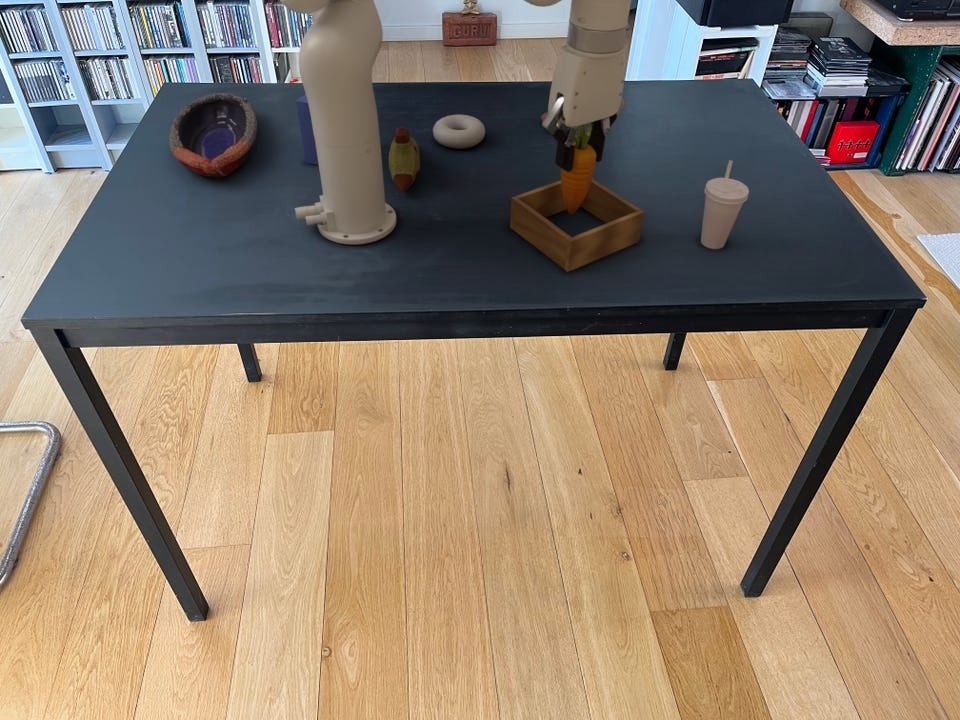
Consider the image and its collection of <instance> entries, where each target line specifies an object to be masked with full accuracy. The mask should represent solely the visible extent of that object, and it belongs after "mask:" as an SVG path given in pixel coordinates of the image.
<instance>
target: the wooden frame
mask: <svg viewBox="0 0 960 720" xmlns="http://www.w3.org/2000/svg"><path fill="white" fill-rule="evenodd" d="M510 201H511V203H510V219H509V220H510V222H509V223H510V224H509V228H510V229H511V230H513V231H514V232H515V233H517V234H518V235H519V236H521V237H522V238H523V239H524V240H525V241H527V242H528V243H530V244H531V245H532V246H534V247H535V248H536V249H537V250H539V251H540V252H541V253H543V254H544V255H545V256H546V257H548V258H549V259H550V260H551V261H553V262H554V263H555V264H557V265H558V266H559V267H561V268H562V269H563V270H565V271H566V272H567V273H568V272H571V271H574V270H576V269H578V268H581V267H583V266H585V265H587V264H589V263H593V262H594V261H595V262H596V261H597V260H600V259H602V258H604V257H607V256H608V255H611V254H614V253H616V252H619V251H620V250H623V249H626V248H629V247H630V246H633V245H635V244H637V243H639V242H640V238H641V232H642V227H643V223H644V217H645V211H644V210H643V209H641V208H640V207H638V206H636V205H635V204H634V203H631V202H630V201H628V200H627V199H625V198H624V197H622V196H620V195H619V194H617V193H616V192H614V191H613V190H611V189H609V188H608V187H607V186H605V185H603V184H602V183H600V182H598V180H595V179H593V178H592V181H591V184H590V186H589V189H588V192H587V194H586V197H585V199H584V200H583V202H582V204H581V205H580V207H581V209H584V210H585V211H587V212H588V213H590V214H591V215H593V216H594V217H596V218H597V219H599V220H600V221H602V223H604V224H602V225H599V226H597V227H594V228H592V229H589V230H587V231H584V232H581V233H579V234H577V235H574V236H571V235H569V234H568V233H567V232H565V230H562V229H561V228H560V227H558V226H557V225H556V224H554V223H553V222H552V221H550V220H549V219H548V218H547V217H551V216H553V215H556V214H558V213H561V212H564V211H566V210H567V208H566V206H565V203H564V200H563V196H562V188H561V179H560V180H558V181H557V180H556V181H555V182H552V183H549V184H546V185H543V186H541V187H537V188H535V189H532V190H529V191H527V192H523V193H521V194H517V195H516V196H512V197H511V200H510Z"/></svg>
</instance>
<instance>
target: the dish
mask: <svg viewBox="0 0 960 720" xmlns="http://www.w3.org/2000/svg"><path fill="white" fill-rule="evenodd" d="M257 134H258V120H257V116H256V112H255V110H254V109H253V107H252V104H251V103H250V102H249V100H248V99H247V98H246V97H241V96H239V95H236V94H234V93H226V92H217V93H211V94H208V95H204V96H201V97H199V98H197V99H195V100H193V101H191V102H189V104H187V105H186V106H185V107H183V108H182V109H181V111H179V112H178V114H177V115H176V116H175V118H174V119H173V122H172V123H171V126H170V129H169V133H168V145H169V148H170V151H171V153H172V155H173V156H174V158H176V159H177V161H178V162H179V163H180V164H181V165H182V166H183V167H184V168H186V169H187V170H189V171H191V172H193V173H195V174H197V175H199V176H204V177H217V178H218V177H225V176H226V177H227V176H228V175H231V174H232V173H233V172H234V171H235V170H236V169H238V168H239V167H240V166H241V165H243V164H244V163H245V162H246V161H247V160H248V159H249V158H250V156H251V154H252V152H253V149H254V147H255V143H256V138H257Z"/></svg>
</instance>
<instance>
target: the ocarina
mask: <svg viewBox="0 0 960 720" xmlns="http://www.w3.org/2000/svg"><path fill="white" fill-rule="evenodd" d="M388 168H389V172H390V177H391V179H392V182H393V183H394V185H395V186H396V188H397V189H398V190H399V191H400V192H402V193H404V192H406V191H407V190H408V189H409V188H410V187H411V186H412V185H413V183H414V182H415V181H416V179H417V178H418V175H419V173H420V169H421V158H420V148H419V145H418V143H417V141H416V140H415V139H414V138H413V137H412V136H411V135H410V133H409V130H408V129H407V128H406V127H404V126H399V127H397V128H396V130H395V133H394V138H393V140H392V142H391V144H390V148H389V153H388Z"/></svg>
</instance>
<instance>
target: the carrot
mask: <svg viewBox="0 0 960 720" xmlns="http://www.w3.org/2000/svg"><path fill="white" fill-rule="evenodd" d="M584 125H585V124H583V125H580V126H578V129H577V130H578V131H577V132H576V135H575V137H574V140H573V141H575V142H573V143H572V145H574V146H575V153H574V160H573V167H572V170H571V171H570V172H567V171H565V170H564V169H562V168H561V167H560V180H561V188H562V196H563V200H564V203H565V206H566V208H567V209H566V210H567V213H568V214H569V215H573V214H575V213H576V211H578V209H579V208H580V207H581V206H580V205H581V204H582V202H583V200H584V199H585V197H586V194H587V192H588V189H589V186H590V184H591V181H592V179H593V176H594V171H595V167H596V163H597V162H596V152H595V151H594V149H593V148H592V146H591V145H588V144H587V142H588V140H589V137H590V135H591V134H590V133H591V129H592V125H591V124H590V125H589V124H586V131H585V126H584ZM578 132H579V134H578Z"/></svg>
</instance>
